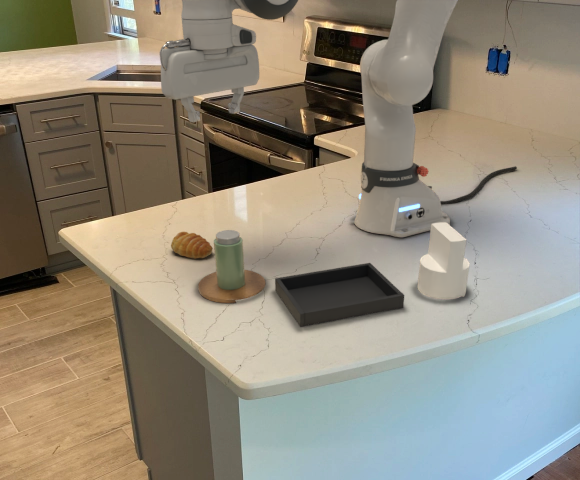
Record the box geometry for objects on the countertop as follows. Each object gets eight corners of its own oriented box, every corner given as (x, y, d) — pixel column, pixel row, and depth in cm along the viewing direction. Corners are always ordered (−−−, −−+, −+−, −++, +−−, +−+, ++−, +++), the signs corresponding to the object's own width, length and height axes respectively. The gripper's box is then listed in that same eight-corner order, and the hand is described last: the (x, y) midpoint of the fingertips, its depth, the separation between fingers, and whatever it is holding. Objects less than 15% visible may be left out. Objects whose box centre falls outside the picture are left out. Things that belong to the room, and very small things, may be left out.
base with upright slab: (473, 299, 116) (483, 238, 109) (428, 304, 114) (435, 243, 108) (453, 277, 123) (460, 220, 117) (410, 283, 122) (415, 224, 115)
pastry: (220, 252, 136) (219, 236, 134) (198, 263, 131) (196, 247, 129) (190, 242, 141) (188, 226, 139) (168, 253, 136) (165, 236, 134)
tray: (369, 276, 124) (370, 262, 123) (403, 310, 113) (404, 295, 111) (275, 292, 119) (274, 278, 118) (300, 329, 107) (300, 314, 106)
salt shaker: (248, 278, 123) (245, 229, 118) (241, 291, 118) (237, 240, 113) (222, 276, 124) (218, 228, 119) (213, 288, 119) (209, 239, 114)
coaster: (255, 268, 129) (255, 265, 128) (273, 296, 118) (273, 292, 118) (192, 278, 125) (192, 274, 125) (206, 308, 115) (205, 304, 114)
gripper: (169, 43, 103) (178, 129, 110) (262, 32, 114) (266, 110, 122) (148, 40, 106) (159, 124, 114) (240, 29, 118) (245, 106, 126)
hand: (215, 117), depth 118 cm, fingers open, 8 cm apart
